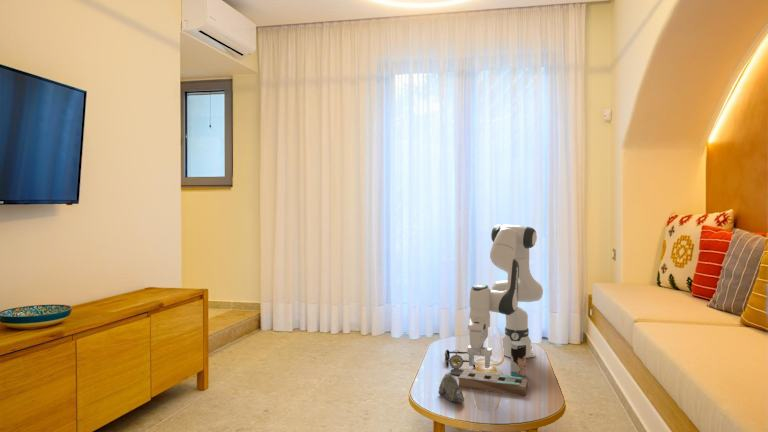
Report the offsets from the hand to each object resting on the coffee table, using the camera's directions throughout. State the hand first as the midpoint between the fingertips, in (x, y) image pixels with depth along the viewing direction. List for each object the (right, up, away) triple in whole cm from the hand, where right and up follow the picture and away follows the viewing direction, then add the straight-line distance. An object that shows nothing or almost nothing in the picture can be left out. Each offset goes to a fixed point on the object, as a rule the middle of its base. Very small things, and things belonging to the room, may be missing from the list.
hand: (479, 353), depth 217 cm
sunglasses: (-4, -14, +30) cm, 34 cm away
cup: (+20, -14, +12) cm, 27 cm away
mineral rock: (-15, -15, -16) cm, 26 cm away
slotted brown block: (+6, -14, -2) cm, 15 cm away
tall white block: (0, -6, 0) cm, 6 cm away
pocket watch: (-7, -14, +16) cm, 22 cm away
